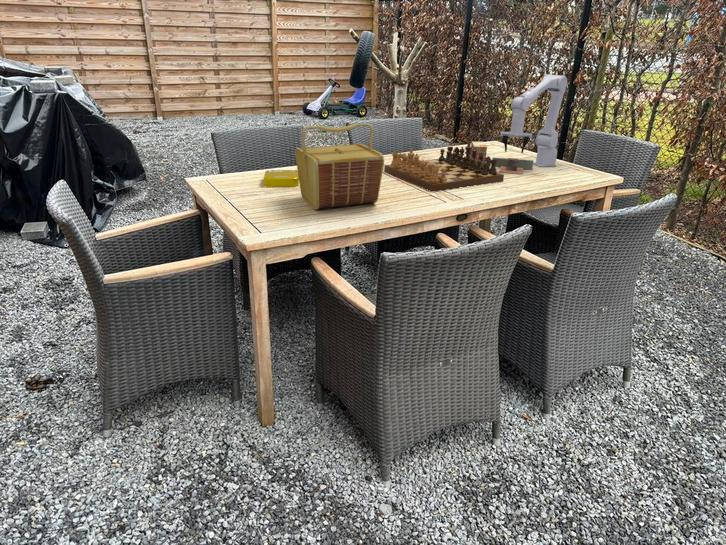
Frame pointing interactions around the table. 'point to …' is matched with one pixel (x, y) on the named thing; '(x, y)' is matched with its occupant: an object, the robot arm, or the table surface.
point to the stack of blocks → (481, 149)
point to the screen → (521, 164)
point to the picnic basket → (339, 172)
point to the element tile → (281, 178)
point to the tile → (503, 170)
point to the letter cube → (512, 164)
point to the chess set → (445, 169)
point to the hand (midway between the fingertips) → (513, 152)
